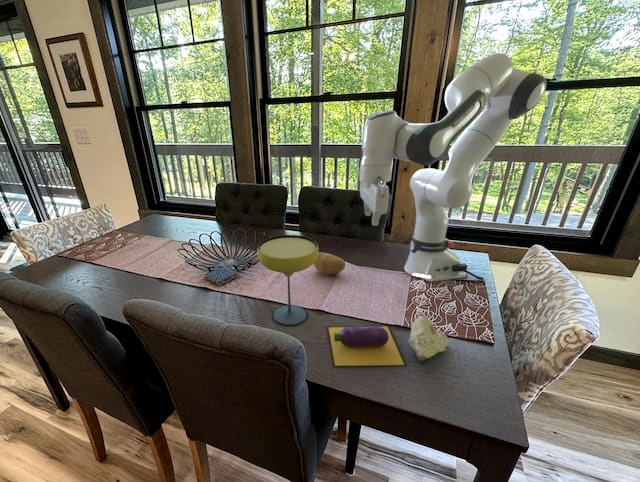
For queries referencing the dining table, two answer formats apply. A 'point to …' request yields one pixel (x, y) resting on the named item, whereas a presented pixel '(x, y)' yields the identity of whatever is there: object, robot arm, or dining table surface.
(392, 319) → the dining table surface
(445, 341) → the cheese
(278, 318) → the cocktail glass
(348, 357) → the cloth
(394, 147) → the robot arm
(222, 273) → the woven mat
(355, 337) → the eggplant
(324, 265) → the potato
